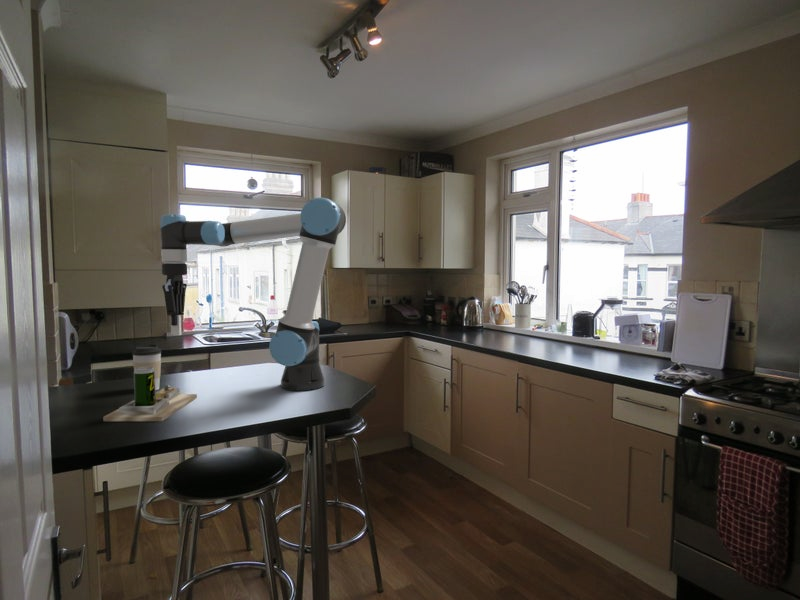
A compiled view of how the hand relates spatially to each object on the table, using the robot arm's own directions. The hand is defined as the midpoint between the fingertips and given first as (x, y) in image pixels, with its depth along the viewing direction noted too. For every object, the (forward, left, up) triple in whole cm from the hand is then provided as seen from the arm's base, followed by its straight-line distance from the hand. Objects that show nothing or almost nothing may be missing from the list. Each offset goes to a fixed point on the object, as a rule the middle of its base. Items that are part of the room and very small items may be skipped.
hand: (176, 335), depth 166 cm
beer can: (0, +22, -19) cm, 29 cm away
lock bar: (0, +9, -18) cm, 20 cm away
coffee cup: (+13, -6, -20) cm, 24 cm away
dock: (0, +17, -20) cm, 26 cm away
